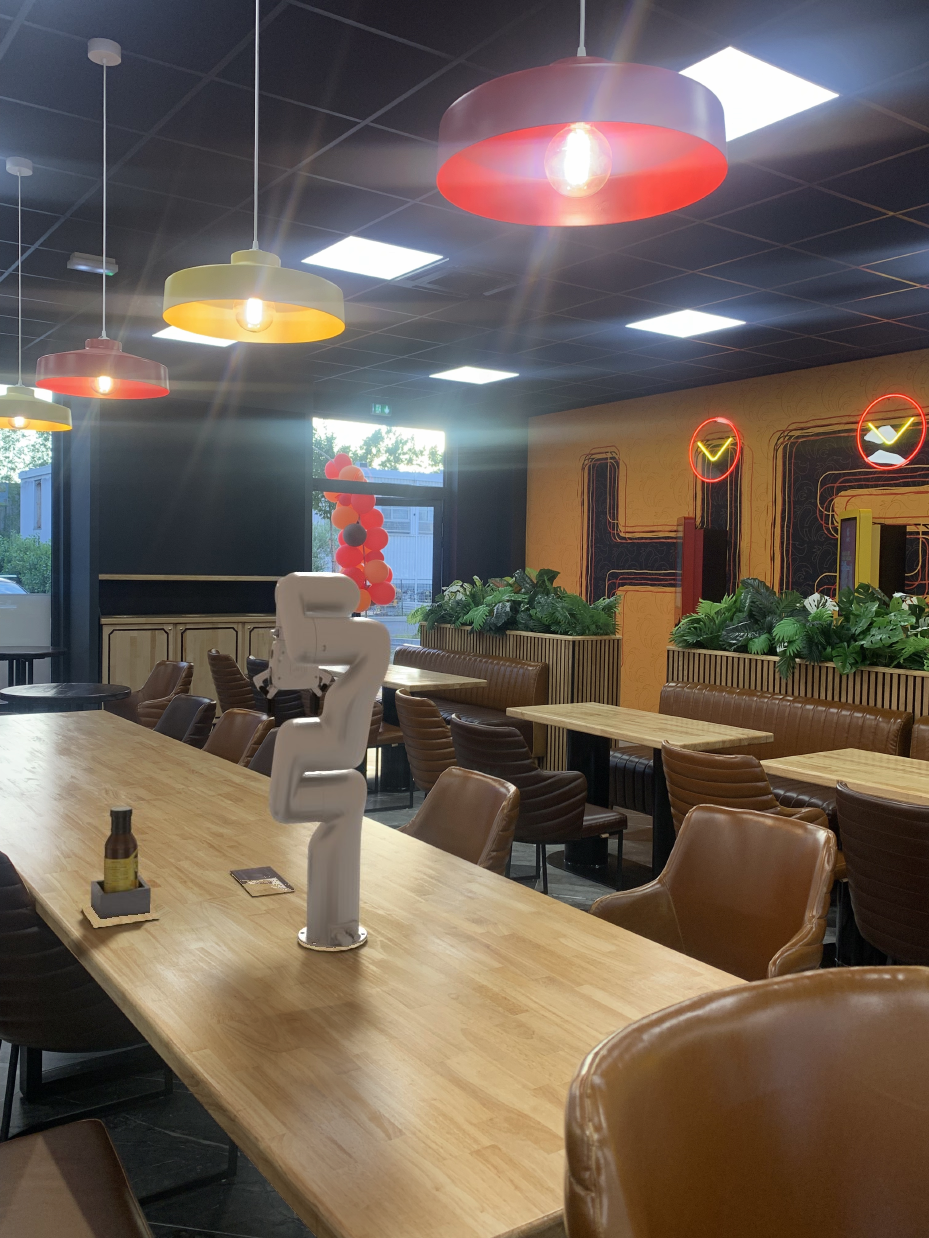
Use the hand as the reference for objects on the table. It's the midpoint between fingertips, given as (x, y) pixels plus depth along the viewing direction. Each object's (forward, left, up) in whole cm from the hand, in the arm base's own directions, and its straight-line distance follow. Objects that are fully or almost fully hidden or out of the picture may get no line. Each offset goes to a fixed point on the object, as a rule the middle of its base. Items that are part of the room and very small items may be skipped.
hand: (292, 715), depth 213 cm
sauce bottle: (-4, +36, -36) cm, 51 cm away
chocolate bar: (+3, +5, -37) cm, 37 cm away
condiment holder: (-4, +36, -36) cm, 51 cm away
